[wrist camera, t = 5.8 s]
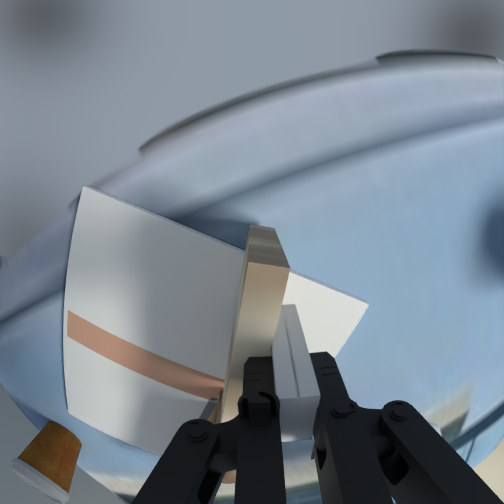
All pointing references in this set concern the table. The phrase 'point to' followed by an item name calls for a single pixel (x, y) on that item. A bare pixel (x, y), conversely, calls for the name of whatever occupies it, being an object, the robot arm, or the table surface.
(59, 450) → the disposable coffee cup
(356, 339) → the table surface
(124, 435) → the board
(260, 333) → the hinged fence panel
